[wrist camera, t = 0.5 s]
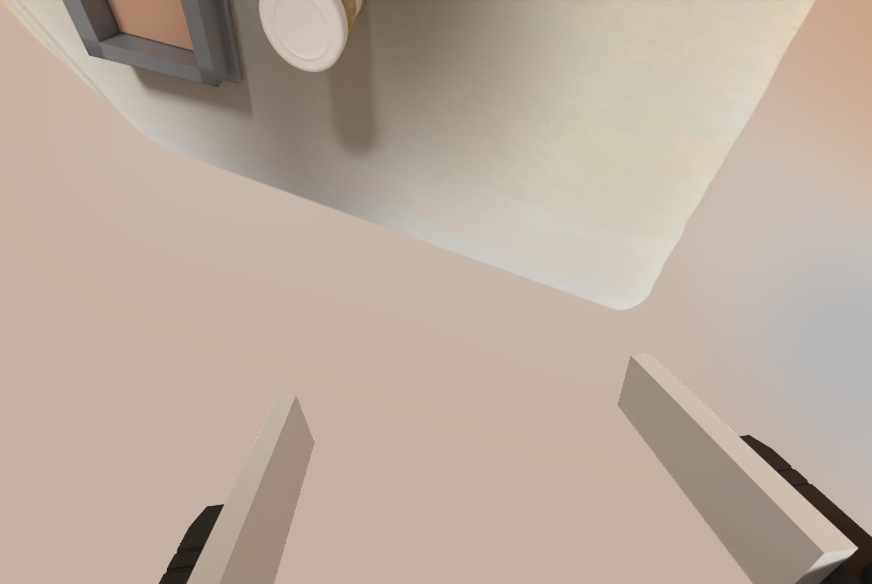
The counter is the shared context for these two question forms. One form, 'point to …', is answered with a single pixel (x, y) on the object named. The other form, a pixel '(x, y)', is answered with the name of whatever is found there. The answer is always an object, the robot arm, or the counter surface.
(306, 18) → the sprinkles bottle
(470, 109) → the counter surface
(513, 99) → the counter surface
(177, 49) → the bottle caddy
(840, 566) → the robot arm
